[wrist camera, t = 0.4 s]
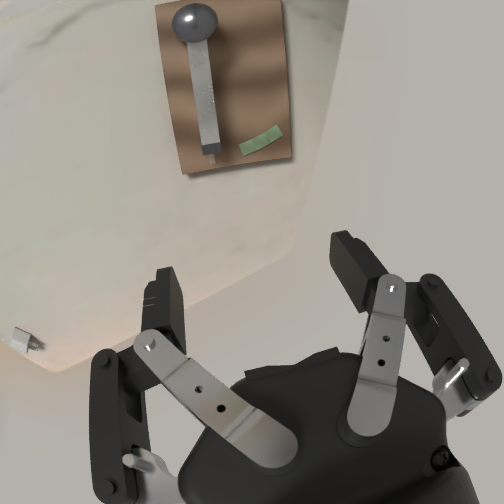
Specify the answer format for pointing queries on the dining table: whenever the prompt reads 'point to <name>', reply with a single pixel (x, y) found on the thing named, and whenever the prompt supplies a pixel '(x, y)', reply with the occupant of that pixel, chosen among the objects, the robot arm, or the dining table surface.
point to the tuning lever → (200, 67)
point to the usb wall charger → (22, 341)
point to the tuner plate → (231, 84)
